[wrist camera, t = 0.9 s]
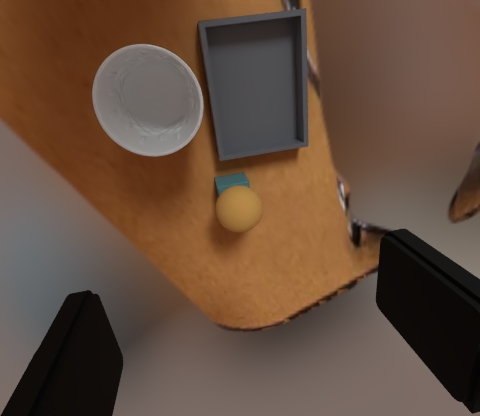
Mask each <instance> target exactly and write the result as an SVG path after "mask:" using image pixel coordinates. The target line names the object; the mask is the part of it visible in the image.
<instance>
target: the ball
mask: <svg viewBox="0 0 480 416" xmlns="http://www.w3.org/2000/svg"><path fill="white" fill-rule="evenodd" d="M262 213H263V206H262V201H261V199H260V197H259V195H258V194H257V193H256V192H255V191H254V190H253V189H251V188H249V187H246V186H242V185H237V186H232V187H229V188H227V189H226V190H224V191H223V192H222V193H221V194H220V196H219V197H218V199H217V202H216V216H217V218H218V220H219V222H220V223H221V225H222V226H223V227H225V228H226V229H227V230H229V231H232V232H237V233H241V232H246V231H249V230H251V229H252V228H254V227H255V226H256V225H257V224H258V223H259V221H260V219H261V217H262Z"/></svg>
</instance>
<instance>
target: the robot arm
mask: <svg viewBox="0 0 480 416" xmlns="http://www.w3.org/2000/svg"><path fill="white" fill-rule="evenodd" d="M376 303H377V306H378V308H379V309H380V310H381V312H382V313H383V314H384V316H385V317H386V318H387V319H388V320H389V321H390V323H391V324H392V325H393V326H394V327H395V329H396V330H397V331H398V332H399V333H400V335H401V336H402V337H403V338H404V339H405V341H406V342H407V343H408V344H409V345H410V347H411V348H412V349H413V350H414V351H415V353H416V354H417V355H418V356H419V357H420V359H421V360H422V361H423V362H424V363H425V365H426V366H427V367H428V368H429V369H430V370H431V372H432V373H433V374H434V375H435V376H436V378H437V379H438V380H439V381H440V382H441V384H442V385H443V386H444V387H445V388H446V389H447V391H448V392H449V393H450V394H451V396H452V397H454V399H456V400H457V401H459V402H463V404H464V405H465V406H466V407H467V408H468V410H469V411H470V412H471V413H476V412H480V279H479V278H477V277H476V276H474V275H473V274H471V273H470V272H468V271H467V270H465V269H464V268H462V267H461V266H459V265H458V264H457V263H455V262H454V261H452V260H450V259H449V258H448V257H446V256H445V255H443V254H442V253H440V252H439V251H437V250H436V249H435V248H433V247H432V246H430V245H429V244H427V243H426V242H424V241H423V240H421V239H420V238H418V237H417V236H416V235H414V234H412V233H411V232H409V231H408V230H406V229H399V230H394V231H388V232H386V234H385V236H384V237H382V238H381V242H380V254H379V266H378V279H377V292H376ZM122 369H123V356H122V353H121V350H120V348H119V345H118V343H117V340H116V338H115V335H114V333H113V330H112V328H111V325H110V323H109V320H108V318H107V315H106V313H105V310H104V307H103V305H102V302H101V300H100V297H99V295H98V294H93V293H92V292H91V291H89V290H87V291H83V292H77V293H72V294H69V295H68V296H67V297H66V299H65V301H64V303H63V305H62V306H61V308H60V310H59V312H58V314H57V316H56V317H55V319H54V321H53V323H52V325H51V327H50V328H49V330H48V332H47V334H46V336H45V337H44V339H43V341H42V343H41V345H40V347H39V348H38V350H37V351H36V353H35V354H34V356H33V358H32V360H31V362H30V363H29V365H28V367H27V369H26V371H25V372H24V374H23V376H22V378H21V380H20V382H19V383H18V385H17V387H16V389H15V391H14V392H13V394H12V396H11V398H10V400H9V401H8V403H7V405H6V407H5V409H4V410H3V412H2V414H1V416H112V414H113V410H114V405H115V400H116V396H117V391H118V386H119V382H120V378H121V373H122Z"/></svg>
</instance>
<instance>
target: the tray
mask: <svg viewBox="0 0 480 416" xmlns="http://www.w3.org/2000/svg"><path fill="white" fill-rule="evenodd" d="M197 27H198V33H199V39H200V46H201V52H202V59H203V65H204V71H205V78H206V84H207V90H208V97H209V103H210V110H211V116H212V122H213V129H214V135H215V141H216V148H217V154H218V157H219V160H220V161H224V160H230V159H236V158H242V157H248V156H254V155H260V154H266V153H271V152H277V151H283V150H289V149H295V148H301V147H307V146H308V92H307V27H306V9H298V10H289V11H281V12H273V13H264V14H256V15H248V16H240V17H231V18H223V19H215V20H206V21H199V22H198V24H197Z"/></svg>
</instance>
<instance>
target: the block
mask: <svg viewBox="0 0 480 416" xmlns="http://www.w3.org/2000/svg"><path fill="white" fill-rule="evenodd" d="M214 178H215V184H216V190H217V196H218V197H219V196H220V194H221V193H222V192H223V191H224V190H226V189H227V188H229V187H232V186H237V185H242V186H246V187H249V181H248V179H247V177H246V175H245V174H244V172H243V173H237V174H231V175H226V176H220V177H214Z"/></svg>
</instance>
